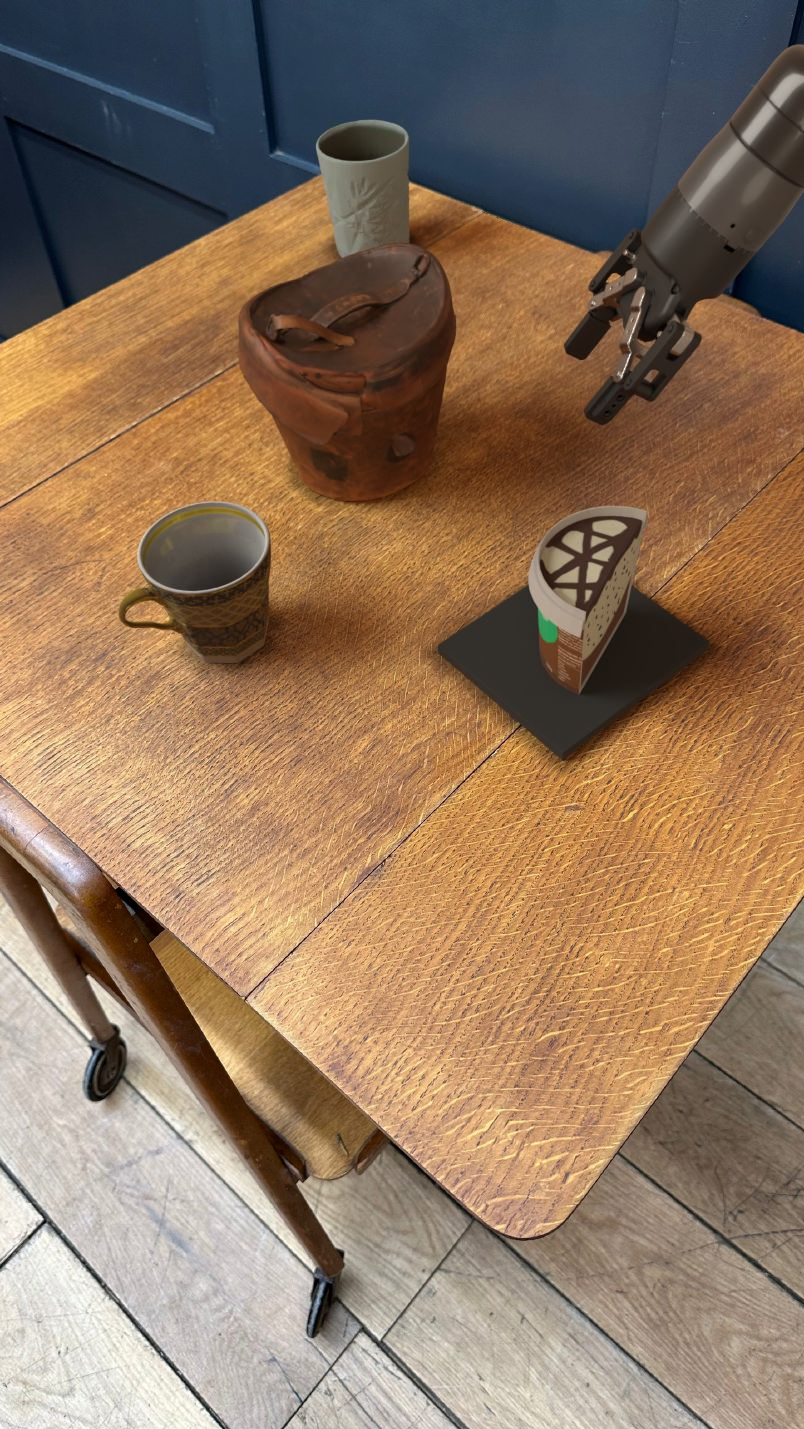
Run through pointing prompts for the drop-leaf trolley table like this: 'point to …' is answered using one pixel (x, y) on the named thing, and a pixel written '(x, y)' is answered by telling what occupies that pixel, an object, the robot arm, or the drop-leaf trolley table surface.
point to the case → (354, 367)
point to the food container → (583, 587)
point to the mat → (562, 720)
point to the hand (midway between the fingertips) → (582, 386)
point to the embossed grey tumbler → (366, 183)
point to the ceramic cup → (208, 578)
